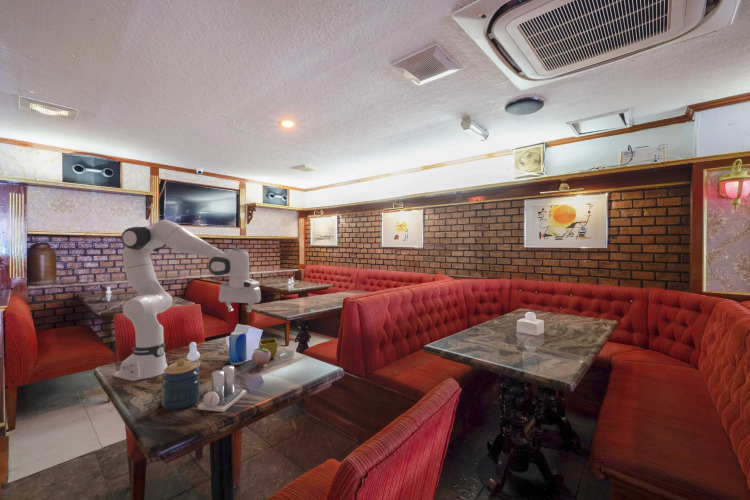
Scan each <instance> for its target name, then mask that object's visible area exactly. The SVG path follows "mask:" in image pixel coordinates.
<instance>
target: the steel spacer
mask: <svg viewBox="0 0 750 500" xmlns="http://www.w3.org/2000/svg"><path fill="white" fill-rule="evenodd" d="M221 370H224V394H229V393H232V392H234V388H235V365H232V364H231V365H230V364H229V365H225V366H223V367H222V369H221Z"/></svg>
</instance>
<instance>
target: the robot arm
mask: <svg viewBox="0 0 750 500" xmlns="http://www.w3.org/2000/svg"><path fill="white" fill-rule="evenodd" d="M121 242H122V244H123V246H124V248H123V249H122V262H123V267H124V271H125V276H126V279H127V281H128V285H129V286H130V287H131V288H134V289H135V291H136V292H137V293H138V295H137V296H135V297H132V298H130V299H129V300H127V301H126V302H125V303H124V304H123V306H122V313H123V315H124V317H125V318H127V319H129V321H131V323H132V325H133V327H134V331H135V333H134V334H135V346H133V347H131V348H130V350H131V351H132V353H131V354H130V355H129V356H128V357H127V358H125V359H124V360H123V361H121V364H120V368H119V369H120V370H118V371H116V372H115V373H114V374H113V377H115V378H118V379H123V380H127V381H131V382H135V381H139V380H143V379H150V378H154V377H157V376H160V375H161V376H162V375H163V374H164V373H165V372H164V370H165V369H166V368H167V367H168V366H169V365H168V363H167V359H166V352H165V349H166V344H165V339H164V326H163V325H162V324H161V323H159V321H158V318H157V315H158V314H161V313H164V312H166V311H167V310H169V309H170V308H171V306H172V305H173V296H172V295H171V294H170V293H168V292H167V291H165V289H164V288H163V286H162V285H161V284H160V282H159V280H158V277H157V273H156V271H155V267H154V264H153V261H152V258H151V257H152V256H151V255H152V252H158V251H159V250H161V249H163V248H165V247H166V246H168V247H170V248H171V249H172V250H174V251H176V252H180V253H182V254H194V255H201V256H204V257H206V258H208V259H209V261H208V265H207V267H208V271H209V273H211V275H212V276H217V277H221V276H229V277H228V278H229V280H228V281H229V282H222V283H220V285H219V291H218V292H219V294H218V301H219V302H220V303H225V305H226V307H227V308H228V309H227V311H228V312H234V307H232V305H231V304H232V303H237V304H240V303H242V304H243V303H244V304H248V307H247V308H246V313H252V308H253V306H254V304H258V303H261V301H262V291H261V288H260V287H259V286H260V282H259V281H258V280H256V279H252V278H250V277H251V276H250V272H249V271H250V257H249V256H250V255H249V252H248V251H247V249H246V250H245V249H243V248H234V247H233V248H231V249H229V250H228V251H227V252H226V251H224V250H222V249H220V248H219V247H216V246H215V245H213V244H211V243H209V242H207V241H206V240H204V239H202V238H201V237H199V236H197V235H196V234H195V233H193V232H192V231H190V230H188V229H187V228H186V227H184V226H182V225H181V224H178V223H177V222H174V221H172V220H169V219H161V220H158V221H157V222H155V224H154V225H153V226H148V225H147V226H133V227H129V228H126V229H124V231H123V232H122V234H121Z"/></svg>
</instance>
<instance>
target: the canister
mask: <svg viewBox="0 0 750 500" xmlns="http://www.w3.org/2000/svg"><path fill="white" fill-rule="evenodd" d="M164 372H165V373H163V374H161V380H162V384H161V398H162V399H161V405H162V409H164V410H165V411H179V410H184V409H187V408H190V407H192V406H194V405H195V404H197V403H198V402H199V400H200V397H201V392H200V391H201V390H200V379H201V378H200V376H199V373H200V368H199V367H198V363H197V362H195V361H192V360H185V359H184V358H178V360H177V361H176V362H174V363H171V364H169V365H168V366H167V368H166V369H165V370H164Z"/></svg>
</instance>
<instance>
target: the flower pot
mask: <svg viewBox="0 0 750 500" xmlns="http://www.w3.org/2000/svg"><path fill="white" fill-rule="evenodd" d="M258 344H259V348H260V349H261V347H262V348H265V349H268V350H269V351H270V353H271V357H270V359H273V358H275V356H276V354H277V352H278V341H277V339H276V338H275V337H274V338H268V339H262V340H261V339H260V340H258Z"/></svg>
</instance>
